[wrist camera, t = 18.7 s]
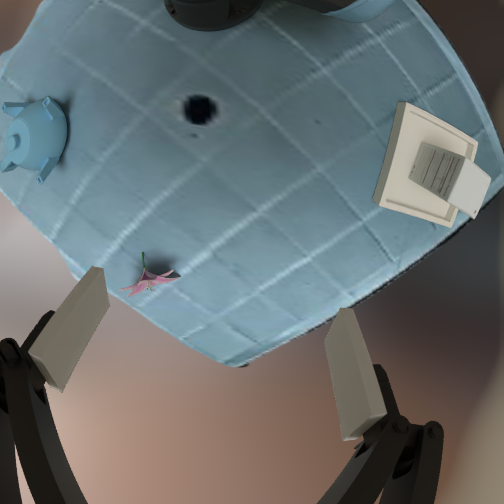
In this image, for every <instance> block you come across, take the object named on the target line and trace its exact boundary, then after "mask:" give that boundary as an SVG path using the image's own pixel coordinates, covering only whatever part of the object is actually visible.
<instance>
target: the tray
mask: <svg viewBox="0 0 504 504" xmlns="http://www.w3.org/2000/svg"><path fill="white" fill-rule="evenodd" d="M422 142H424V143H427V144H430V145H433V146H437V147H440V148H443V149H446V150H448V151H451V152H454V153H457V154H459V155H462V156H465V157H467V158H468V159H469V160H471V161H472V162H474V158H475V154H476V150H477V146H478V142H477V141H475V140H474V139H472V138H471V137H469V136H468V135H466V134H464V133H463V132H461V131H460V130H458V129H456V128H455V127H453V126H451V125H449V124H448V123H446V122H444V121H442V120H440V119H439V118H437V117H435V116H433V115H431V114H429V113H427V112H425V111H423V110H421V109H419V108H417V107H415V106H413V105H411V104H409V103H407V102H398V104H397V109H396V113H395V118H394V122H393V127H392V131H391V135H390V139H389V143H388V147H387V151H386V155H385V158H384V162H383V166H382V169H381V173H380V176H379V180H378V183H377V186H376V189H375V193H374V196H373V199H372V200H373V201H374V202H375V203H376V204H377V205H379V206H381V207H385V208H389V209H392V210H396V211H399V212H403V213H406V214H409V215H413V216H416V217H419V218H422V219H426V220H429V221H432V222H435V223H438V224H441V225H444V226H447V227H450V228H451V227H452V225H453V222H454V220H455V217H456V215H457V212H458V209H457V208H456V207H454V206H452V205H451V204H449V203H447V202H446V201H444V200H443V199H441V198H439V197H438V196H436V195H435V194H433V193H432V192H430V191H428V190H427V189H425V188H424V187H422V186H420V185H418V184H417V183H415V182H413V181H412V180H410V179H409V178H408V177H409V174H410V172H411V169H412V166H413V164H414V161H415V159H416V156H417V153H418V151H419V148H420V145H421V143H422Z"/></svg>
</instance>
